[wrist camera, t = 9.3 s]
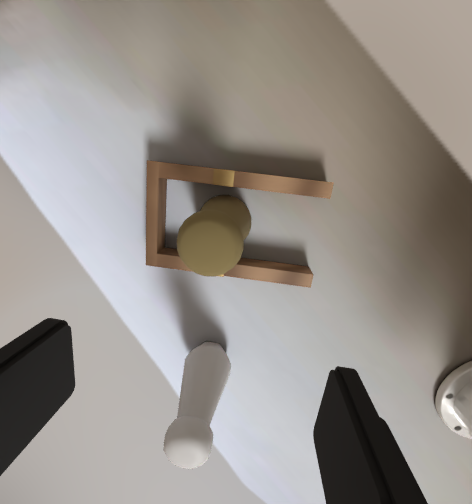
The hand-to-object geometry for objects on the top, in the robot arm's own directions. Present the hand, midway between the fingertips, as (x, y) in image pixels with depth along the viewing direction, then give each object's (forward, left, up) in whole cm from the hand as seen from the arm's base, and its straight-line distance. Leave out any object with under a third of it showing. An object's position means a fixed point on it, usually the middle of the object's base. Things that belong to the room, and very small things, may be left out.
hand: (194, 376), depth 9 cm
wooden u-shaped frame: (0, -2, -21) cm, 21 cm away
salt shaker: (+2, +16, -21) cm, 27 cm away
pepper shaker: (+2, -2, -21) cm, 21 cm away
